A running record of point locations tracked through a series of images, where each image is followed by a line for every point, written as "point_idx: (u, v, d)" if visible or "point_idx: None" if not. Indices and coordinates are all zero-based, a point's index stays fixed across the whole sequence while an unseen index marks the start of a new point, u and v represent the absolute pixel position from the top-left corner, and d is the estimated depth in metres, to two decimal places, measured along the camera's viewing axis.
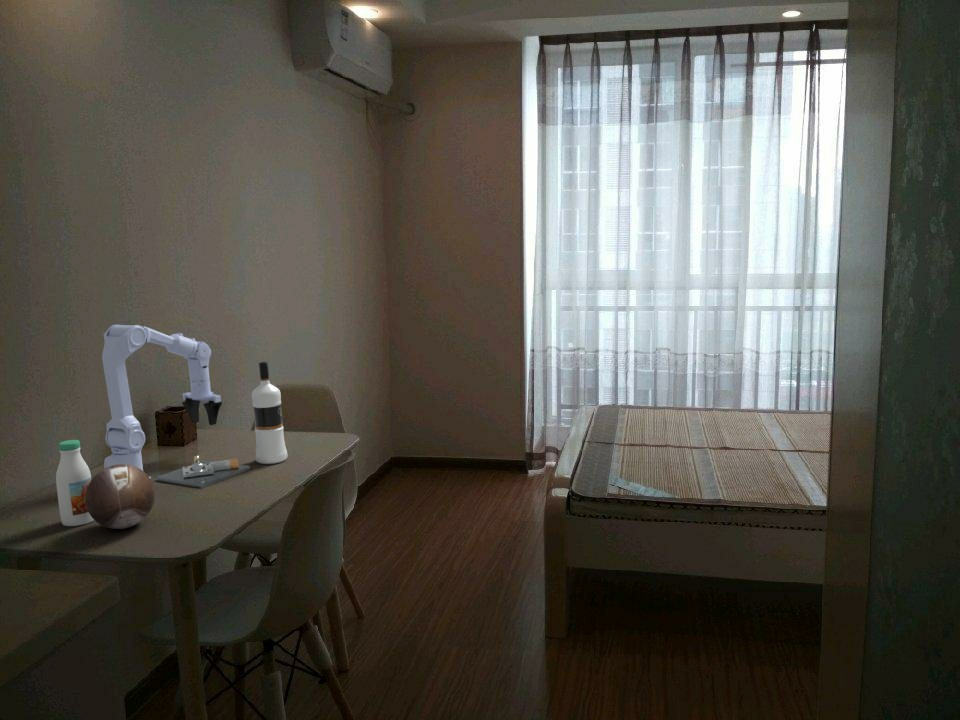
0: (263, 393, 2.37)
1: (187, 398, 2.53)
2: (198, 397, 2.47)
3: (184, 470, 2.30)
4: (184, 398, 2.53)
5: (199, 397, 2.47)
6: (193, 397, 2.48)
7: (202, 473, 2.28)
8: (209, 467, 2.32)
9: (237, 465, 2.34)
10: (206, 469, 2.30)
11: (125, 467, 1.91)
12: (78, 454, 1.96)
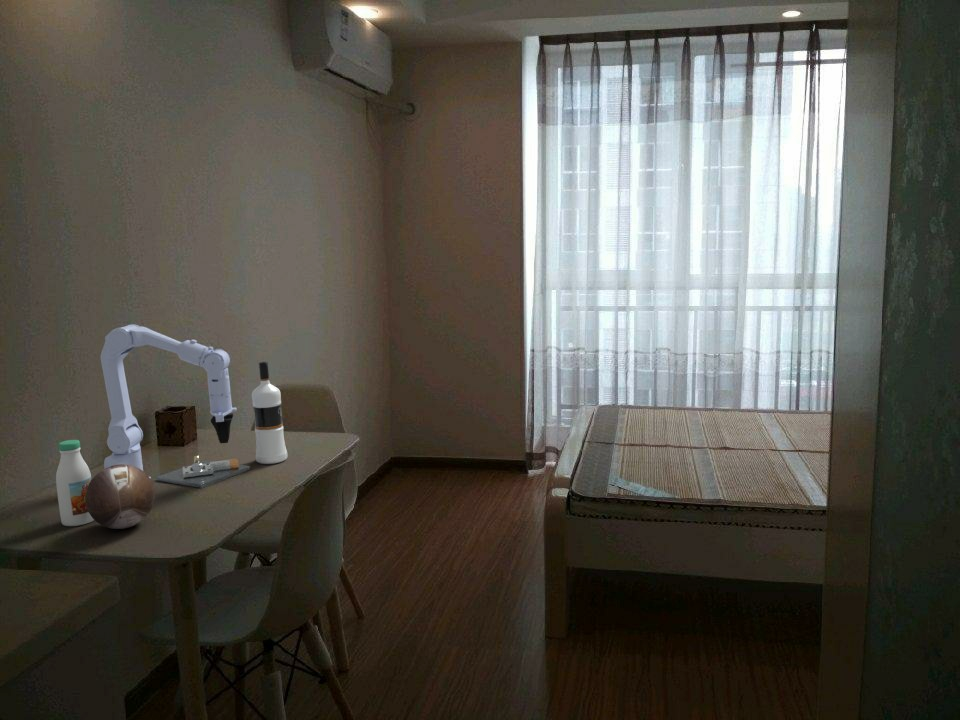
0: (263, 393, 2.37)
1: None
2: (211, 412, 2.24)
3: (184, 470, 2.30)
4: None
5: (211, 412, 2.24)
6: (210, 411, 2.26)
7: (202, 473, 2.28)
8: (209, 467, 2.32)
9: (237, 465, 2.34)
10: (206, 469, 2.30)
11: (125, 467, 1.91)
12: (78, 454, 1.96)
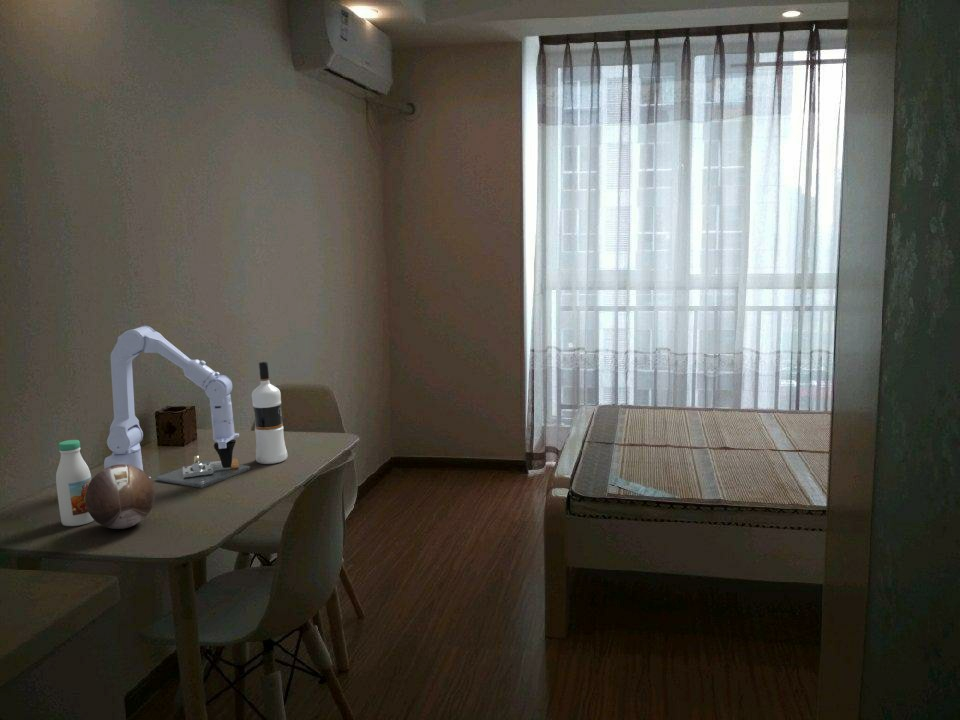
0: (263, 393, 2.37)
1: None
2: (213, 438, 2.25)
3: (184, 470, 2.30)
4: None
5: (214, 439, 2.25)
6: None
7: (202, 473, 2.28)
8: (209, 467, 2.32)
9: (237, 465, 2.34)
10: (206, 469, 2.30)
11: (125, 467, 1.91)
12: (78, 454, 1.96)
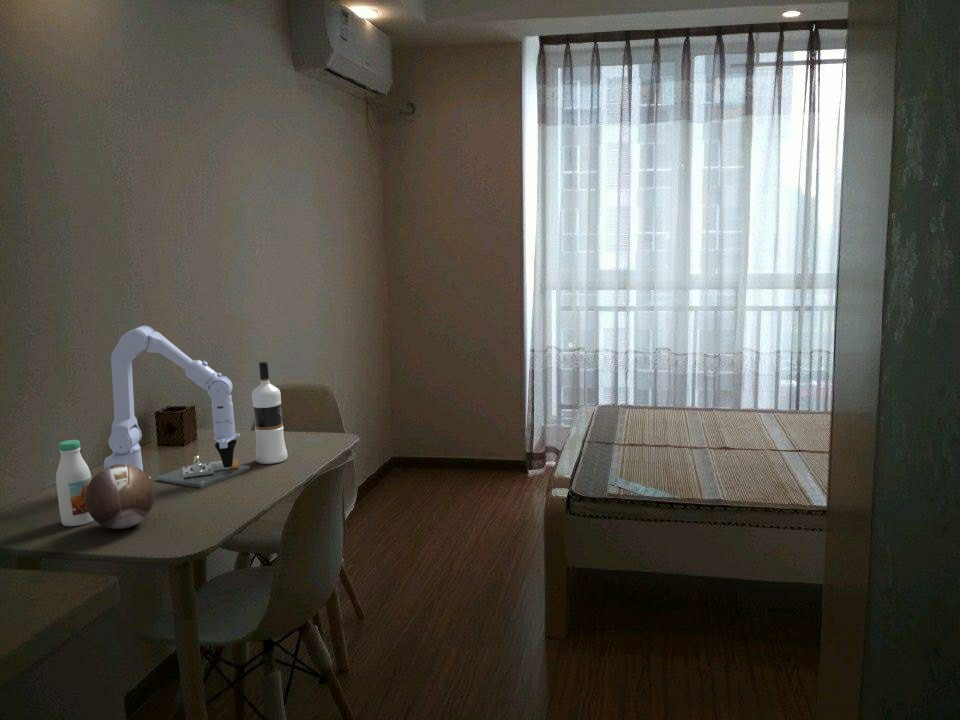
0: (263, 393, 2.37)
1: None
2: (215, 438, 2.28)
3: (184, 470, 2.30)
4: None
5: (215, 438, 2.28)
6: (214, 437, 2.30)
7: (202, 473, 2.28)
8: (209, 467, 2.32)
9: (237, 465, 2.34)
10: (206, 469, 2.30)
11: (125, 467, 1.91)
12: (78, 454, 1.96)
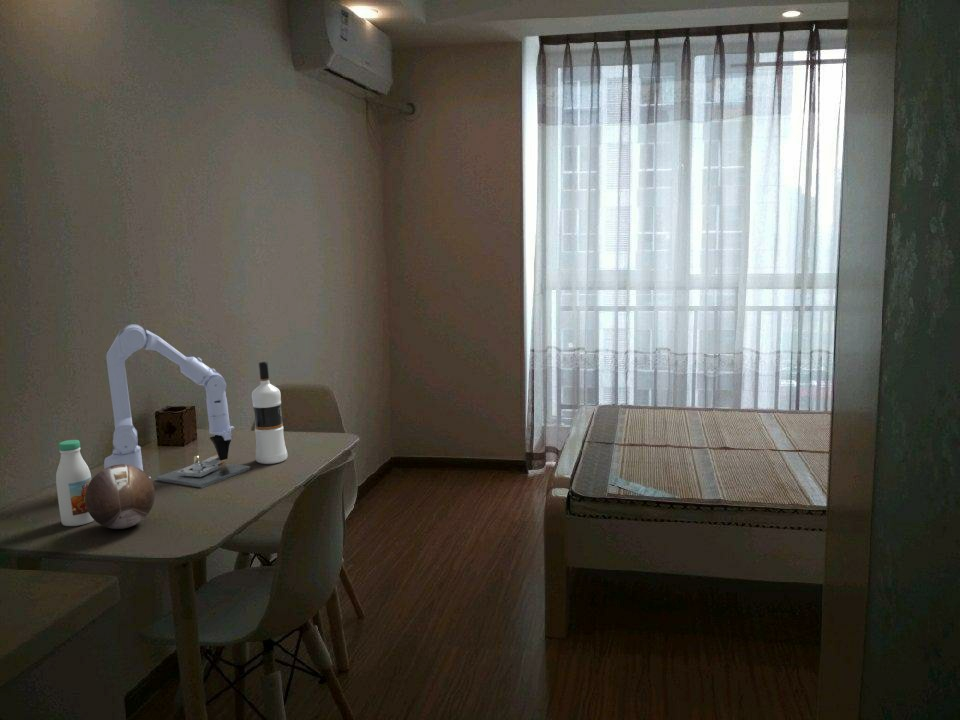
0: (263, 393, 2.37)
1: None
2: (212, 432, 2.35)
3: (190, 472, 2.28)
4: None
5: (213, 432, 2.35)
6: (209, 432, 2.36)
7: (212, 469, 2.31)
8: (207, 465, 2.34)
9: None
10: (209, 466, 2.33)
11: (125, 467, 1.91)
12: (78, 454, 1.96)
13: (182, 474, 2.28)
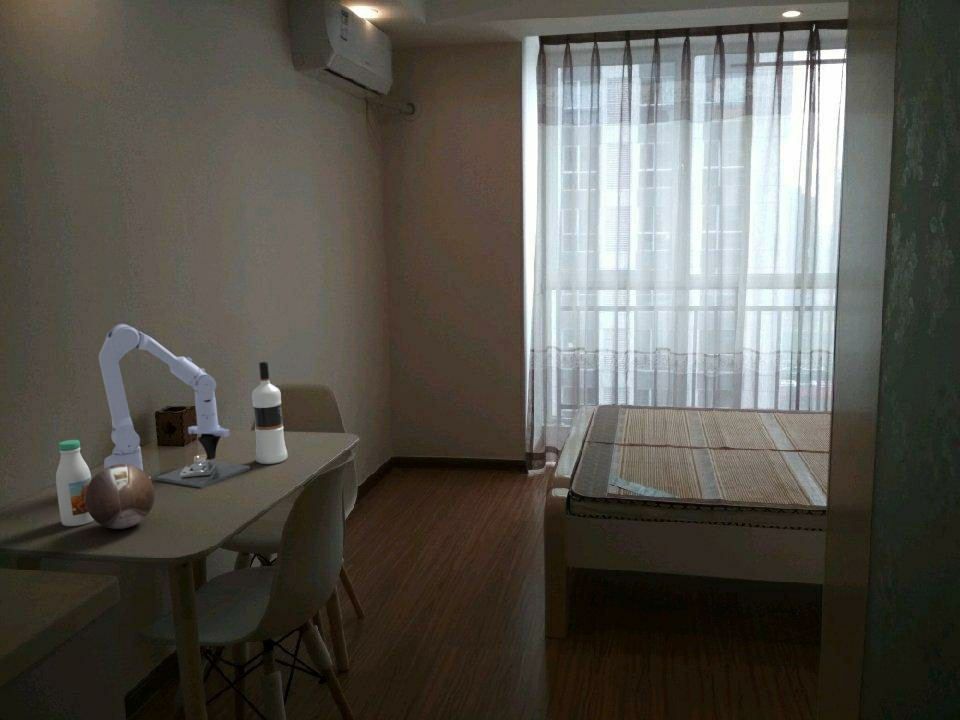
0: (263, 393, 2.37)
1: (203, 433, 2.40)
2: (205, 432, 2.36)
3: (196, 471, 2.28)
4: (190, 432, 2.42)
5: (207, 432, 2.36)
6: (200, 432, 2.37)
7: (213, 468, 2.33)
8: None
9: None
10: (208, 465, 2.34)
11: (125, 467, 1.91)
12: (78, 454, 1.96)
13: (187, 475, 2.27)
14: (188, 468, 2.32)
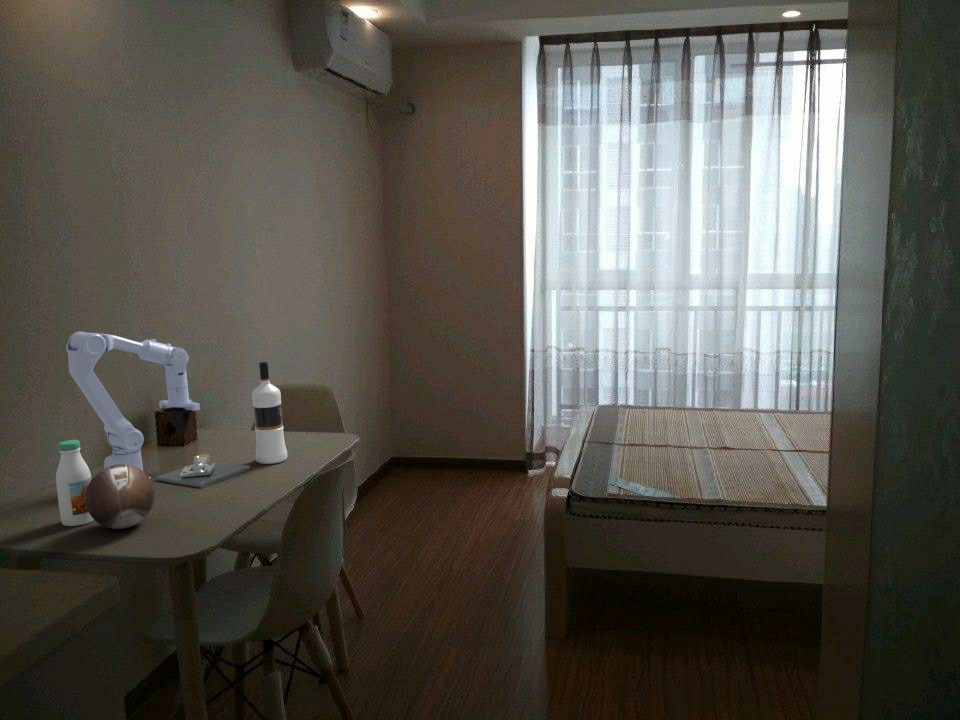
0: (263, 393, 2.37)
1: (172, 407, 2.40)
2: (176, 405, 2.36)
3: (196, 471, 2.28)
4: (161, 406, 2.41)
5: (177, 405, 2.36)
6: (170, 405, 2.36)
7: (213, 468, 2.33)
8: None
9: (209, 459, 2.42)
10: (208, 465, 2.34)
11: (125, 467, 1.91)
12: (78, 454, 1.96)
13: (187, 475, 2.27)
14: (188, 468, 2.32)
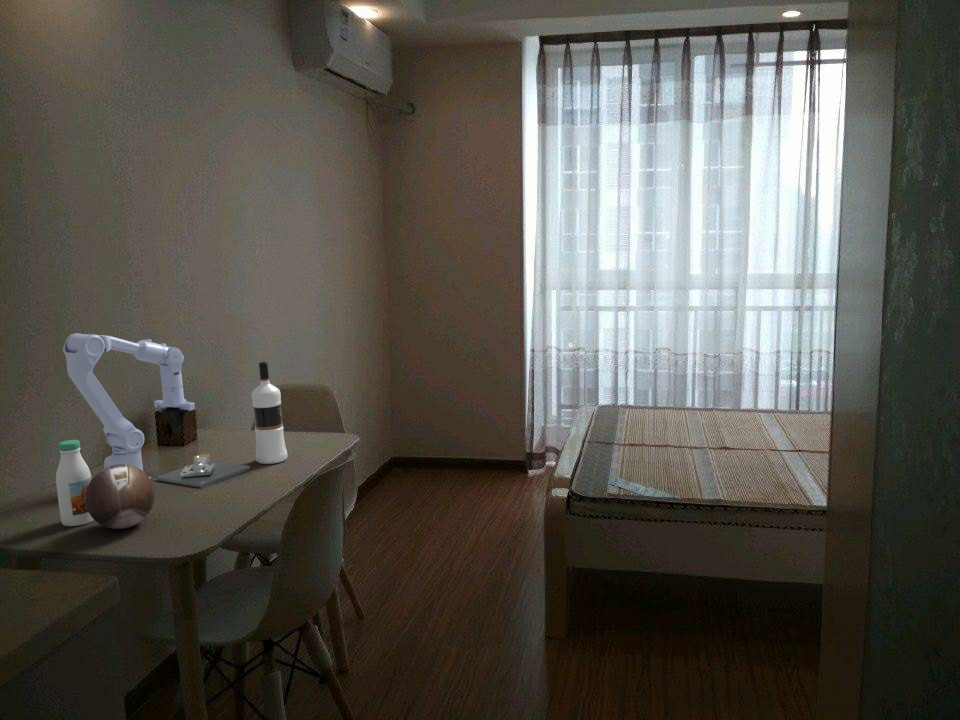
0: (263, 393, 2.37)
1: (167, 407, 2.40)
2: (171, 405, 2.36)
3: (196, 471, 2.28)
4: (156, 406, 2.42)
5: (172, 405, 2.36)
6: (165, 405, 2.37)
7: (213, 468, 2.33)
8: None
9: (209, 459, 2.42)
10: (208, 465, 2.34)
11: (125, 467, 1.91)
12: (78, 454, 1.96)
13: (187, 475, 2.27)
14: (188, 468, 2.32)
